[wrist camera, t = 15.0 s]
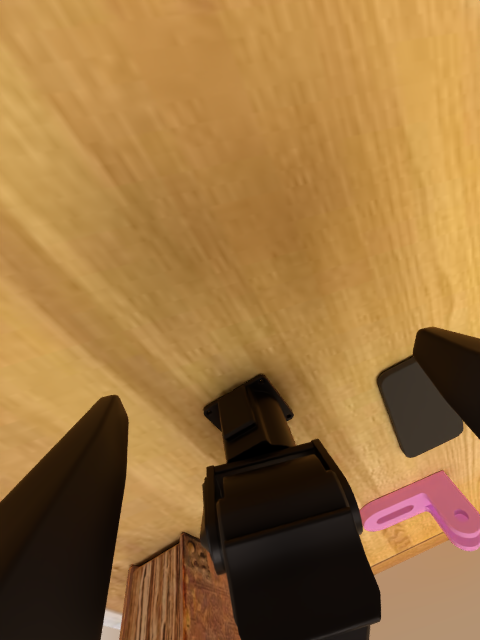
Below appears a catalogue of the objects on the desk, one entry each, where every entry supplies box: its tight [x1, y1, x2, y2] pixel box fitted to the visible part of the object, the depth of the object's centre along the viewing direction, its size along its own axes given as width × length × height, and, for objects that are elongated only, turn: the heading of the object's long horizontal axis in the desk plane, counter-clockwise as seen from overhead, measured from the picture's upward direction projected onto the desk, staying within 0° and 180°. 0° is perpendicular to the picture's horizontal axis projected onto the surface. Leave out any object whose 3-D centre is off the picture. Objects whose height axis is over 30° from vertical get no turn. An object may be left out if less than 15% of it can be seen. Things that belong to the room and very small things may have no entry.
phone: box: [378, 357, 463, 458], centre depth 31 cm, size 7×1×15 cm
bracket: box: [360, 470, 480, 551], centre depth 38 cm, size 13×6×7 cm, turn 114°
